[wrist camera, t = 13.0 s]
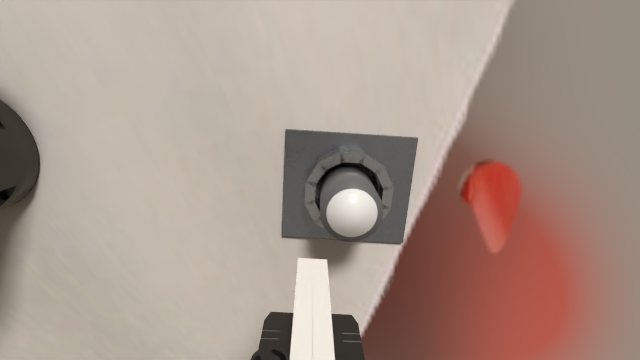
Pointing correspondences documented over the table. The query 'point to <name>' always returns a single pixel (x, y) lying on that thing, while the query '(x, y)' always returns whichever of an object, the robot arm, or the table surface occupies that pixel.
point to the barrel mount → (336, 149)
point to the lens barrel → (349, 203)
